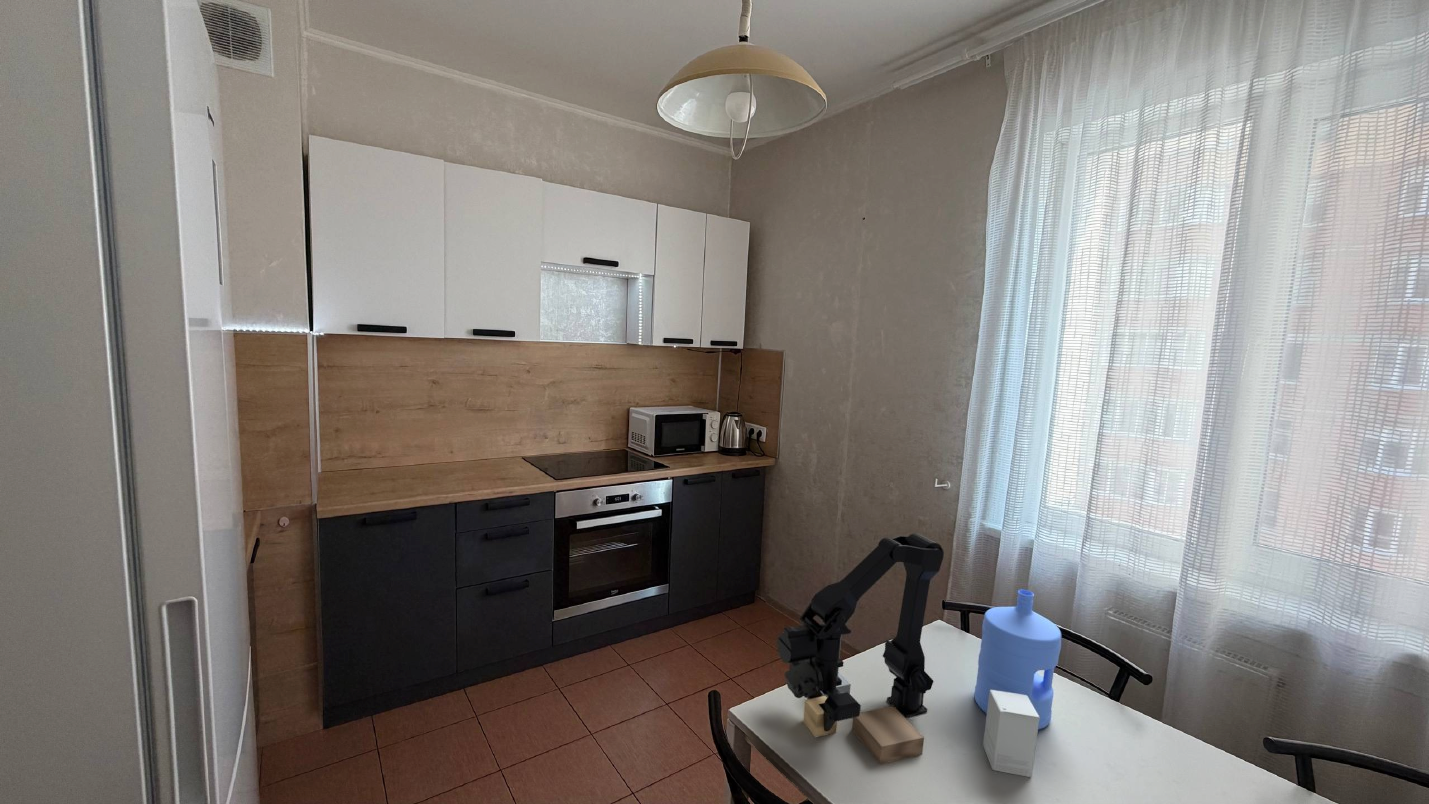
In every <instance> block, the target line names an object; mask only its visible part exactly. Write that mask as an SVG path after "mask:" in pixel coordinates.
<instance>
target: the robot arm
mask: <svg viewBox="0 0 1429 804" xmlns="http://www.w3.org/2000/svg"><path fill="white" fill-rule="evenodd" d="M944 552H945V551H944V549H943V547H942V546H941V545H940V543H938V542H937V541H934V540H932V539H929V538H928V537H926V536H924V535H922V534H919V533H917V532H914V533H912V534H909V535H896V536H894V537H883V538H881V539H880V541H879V542H878V544H877V546H876V547H874V549H873V550H872V551H871V552H870V553H869V554H868V555H867V556H866V557H865V558H863V559H862V561H860V562H859V563H858V564H857V565H856V566H855V567H854V568H853V569H852V570H851V571H850V572H848V573H847V575H846V576H845V577H843V579H841V580H840V581H838V582H834V583H830V584H828V585H826V586H824V588H822V589H820V590H818V592H817V593H815V595H813V597H812V598H811V602H810V603H809V604H808V606H807V607H806V608H805V610H804V612H803V613H802V614H801V616H800V618H799V621H800V622H801V623H802V625H796V626H784V627H783V632H781V633H779V634H778V637H777V639H776V646H777V652H778V656H779V657H780V659H781V661H782V662H783V663H784V664H789V669H788V670H787V671H786V672H785V673H784V678H785V682H786V685H787V688H788V690H789V691H790V692H791V693H792V694H793V696H794V697H795V698H797V699H801V698H803V697H804V698H805V699H806V700H808V699H812V698H817V697H822V694H823V695H827V696H828V698H827V699H826V700H825V703H822V704H819V706H820V707H821V708H822V709H823V711H824V730H825V731H829V730H830V729H831V728H832V726H833V725H834V723H835V722H836V721H837V722H841V721H846V720H849V719H853V718H854V717H858V716H860V712H861V707H862V706H861V704H860V703H859V702H858V701H857V700H856V699H855V698H854V696H852V695H851V693H850V694H849V693H848V692H844V693H843V692H839V691H838V690H837V689H836V686H839V685H842V680H841V679H840V678H839V677H838V672H839V671H840V669H839V668H843V667H844V661H843V660H842V659H841V657H840V656H841V648H842V647H841V645H842V636H844V635H849V634H851V633H852V630H851V629H850V628H848V626H847V625H846V623H847V622H849V620H850V619H851V617H852V616H853V615H854V614H855V611H856V608H857V604H858V601H859V600H860V599H861V598H862V597H863V596H864V595H865V594H866V593H867V592H868V591H870V589H871V588H872V587H873V586H874V585H875V584H876V583H877V582H878V581H879V580H881V578H882V577H883V576H885V575H886V574H887V572H889V570H890V569H892V568H893V567H894V566H895V565H896V564H897V563H903V566H904V567H903V568H904V570H905V572H906V577H905V583H904V589H903V596H902V600H901V601H902V602H901V607H900V612H899V613H900V614H899V620H898V626H897V631H896V632H897V633H896V635H895V636H893V638H892V639H891V640H885V643H884V652H883V654H882V658H884V664H885V665H886V666H887V668H888V672H889V673H890V674H892V675H893V676H895V677H894V678H893V685H892V686H891V692H890V693H891V694H890V696H887V698H886V701H887V702H888V703H889V704H890V705H891V706H894V707H895V708H896V709H897V710H898V711H899V712H900V713H901V714H902V715H903V716H904V717H905V718H906V717H907V718H909V717H911V716H912V717H913V716H916V715H920V714H924V713H927V712H928V708H927V707H926V706H925V705H924V697H925V695H924V694H926V693H927V691H930V690H932V686H933V684H934V679H933V678H932V677H931V676H929V674H928V673H927V672H926V671H925V669H926V668H925V665H926V663H925V660H926V657H925V653H924V650H923V647H922V645H921V640H922V639H921V637H922V633H923V627H924V620H925V614H926V607H927V601H928V597H929V589H930V583H931V580H932V579H933V578H934V577H935V576H936V575H937V574H938V573H939V572H940V569H941V566H942V564H943V559H944V556H945V555H944ZM814 617H816V618H818V619H819V620H820V621H821V622H822V623H819V622H818V621H817V620H815V619H814Z"/></svg>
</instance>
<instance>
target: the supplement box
mask: <svg viewBox="0 0 1429 804" xmlns="http://www.w3.org/2000/svg"><path fill="white" fill-rule="evenodd" d="M1039 718H1040V717H1039V715H1038V714H1037V712H1036V710H1035V708H1034V707H1033V705H1032V703H1031V701H1030V700H1029V698H1028V696H1027V695H1022V694H1016V693H1010V692H1003V691H996V690H990V693H989V700H988V709H987V714H986V719H985V727H984V735H983V743H982V746H983V750H984V752H985V753H986V757H987V759H988V762H989V764H990V767H991V770H992V771H995V772H1001V773H1006V774H1010V775H1011V774H1012V775H1016V776H1023V777H1028V778H1031V777H1032V776H1033V770H1034V763H1035V754H1036V747H1037V741H1038V740H1037V739H1038V731H1039V729H1038V725H1039Z"/></svg>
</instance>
